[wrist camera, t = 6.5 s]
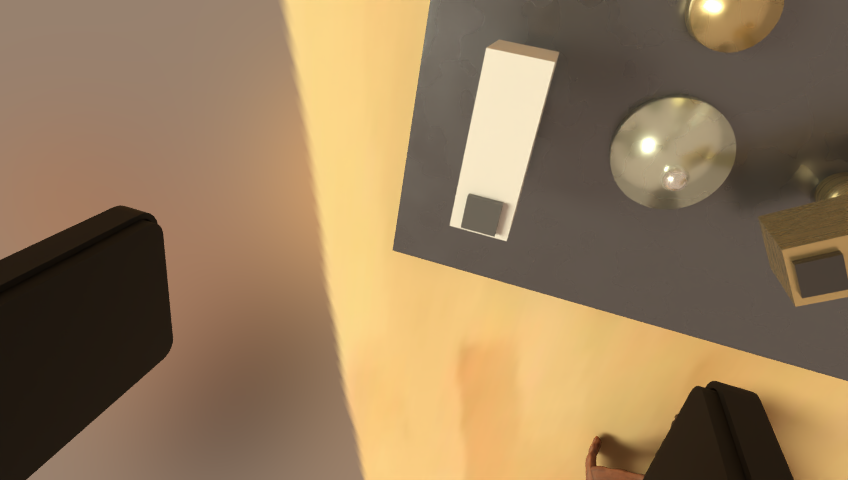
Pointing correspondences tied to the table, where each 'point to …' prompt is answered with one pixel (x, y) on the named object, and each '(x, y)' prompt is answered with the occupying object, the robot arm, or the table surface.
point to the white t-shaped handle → (502, 136)
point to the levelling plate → (647, 159)
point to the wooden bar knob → (811, 244)
